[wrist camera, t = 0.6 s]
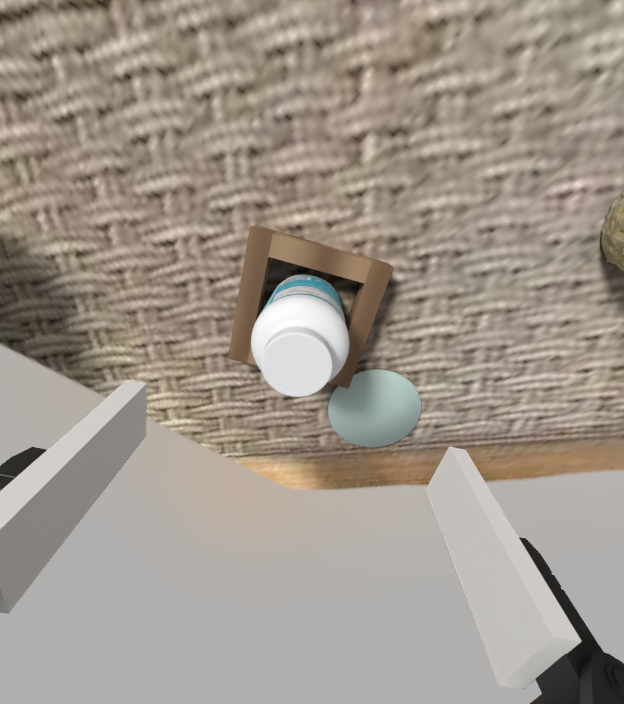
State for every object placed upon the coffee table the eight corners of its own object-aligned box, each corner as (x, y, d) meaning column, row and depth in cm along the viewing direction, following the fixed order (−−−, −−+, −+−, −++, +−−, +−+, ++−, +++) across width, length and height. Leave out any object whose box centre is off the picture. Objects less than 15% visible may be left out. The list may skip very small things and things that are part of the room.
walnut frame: (235, 347, 34) (228, 358, 32) (256, 225, 29) (250, 227, 26) (346, 375, 35) (348, 388, 33) (387, 263, 30) (393, 267, 27)
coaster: (317, 433, 39) (317, 436, 38) (343, 358, 34) (343, 360, 34) (399, 453, 40) (400, 455, 39) (435, 382, 35) (436, 384, 35)
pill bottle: (306, 353, 34) (297, 433, 22) (256, 308, 32) (214, 367, 20) (356, 307, 32) (377, 367, 20) (305, 255, 30) (293, 286, 18)
